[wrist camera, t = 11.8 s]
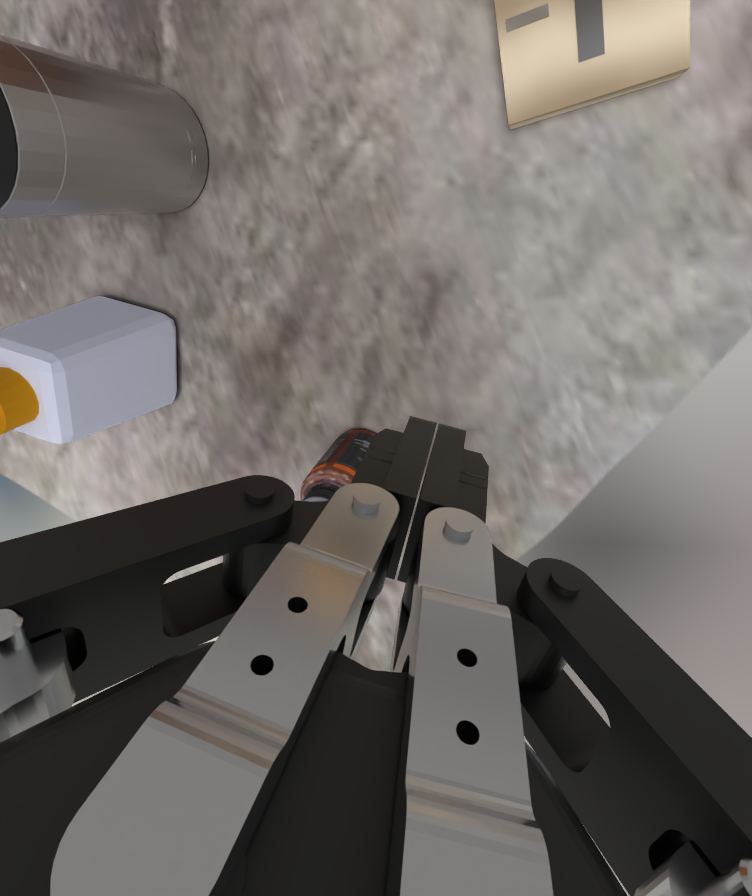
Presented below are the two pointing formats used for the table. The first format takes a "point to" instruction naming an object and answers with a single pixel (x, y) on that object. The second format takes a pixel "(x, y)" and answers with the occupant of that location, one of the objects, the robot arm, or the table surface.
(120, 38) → the table surface
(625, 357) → the table surface
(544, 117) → the grooved wooden slider track
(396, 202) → the table surface
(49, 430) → the soap bottle
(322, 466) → the supplement bottle
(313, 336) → the table surface
